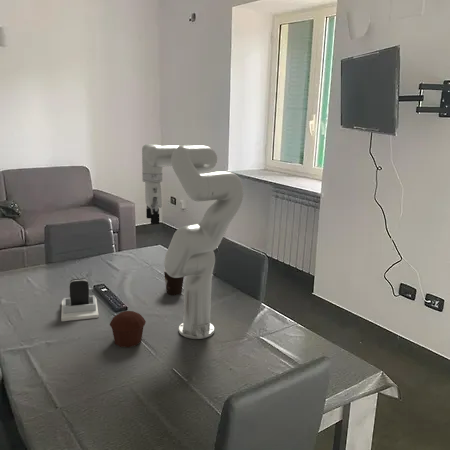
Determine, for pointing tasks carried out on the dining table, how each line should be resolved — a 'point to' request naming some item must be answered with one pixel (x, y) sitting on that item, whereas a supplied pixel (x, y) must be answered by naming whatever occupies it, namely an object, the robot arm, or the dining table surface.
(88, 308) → the dock
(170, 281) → the coffee mug
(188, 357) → the dining table surface
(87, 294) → the battery charger
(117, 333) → the muffin
